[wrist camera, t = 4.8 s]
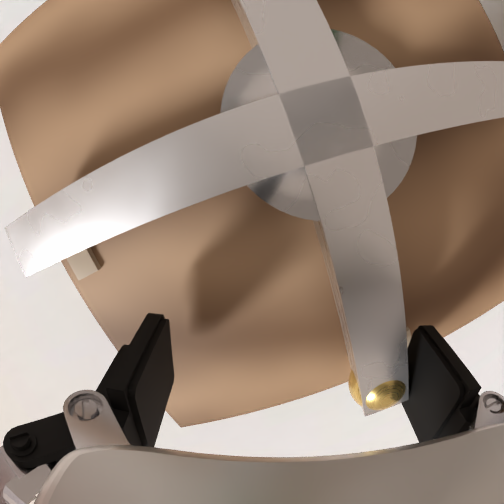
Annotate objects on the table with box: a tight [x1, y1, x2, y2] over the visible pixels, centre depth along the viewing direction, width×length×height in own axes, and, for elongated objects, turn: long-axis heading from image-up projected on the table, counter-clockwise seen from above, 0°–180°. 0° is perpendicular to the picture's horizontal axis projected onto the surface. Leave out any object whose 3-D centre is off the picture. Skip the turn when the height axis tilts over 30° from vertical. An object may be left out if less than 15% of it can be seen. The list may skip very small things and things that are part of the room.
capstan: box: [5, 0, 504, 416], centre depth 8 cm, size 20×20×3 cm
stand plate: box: [0, 0, 504, 427], centre depth 10 cm, size 22×22×2 cm
